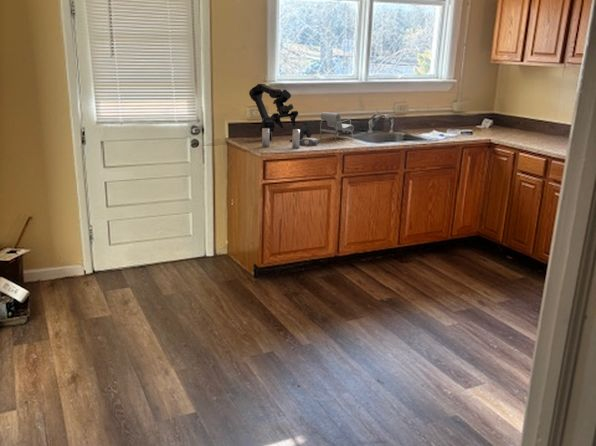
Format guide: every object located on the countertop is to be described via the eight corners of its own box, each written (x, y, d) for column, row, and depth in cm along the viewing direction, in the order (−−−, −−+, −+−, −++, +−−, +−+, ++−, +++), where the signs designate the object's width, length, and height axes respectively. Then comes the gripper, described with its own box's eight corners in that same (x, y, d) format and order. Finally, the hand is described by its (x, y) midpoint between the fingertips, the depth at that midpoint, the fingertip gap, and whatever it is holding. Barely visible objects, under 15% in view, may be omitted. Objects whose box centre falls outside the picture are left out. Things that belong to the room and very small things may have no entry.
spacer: (260, 147, 374) (261, 128, 370) (263, 146, 378) (263, 127, 375) (267, 147, 373) (268, 129, 369) (270, 146, 377) (270, 128, 374)
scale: (297, 144, 387) (297, 139, 386) (303, 141, 401) (303, 136, 400) (315, 146, 384) (315, 140, 383) (320, 143, 398) (320, 137, 397)
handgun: (311, 135, 420) (309, 121, 413) (300, 148, 410) (297, 133, 402) (309, 135, 421) (306, 120, 414) (298, 147, 411) (295, 133, 403)
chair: (319, 140, 412) (320, 112, 406) (338, 136, 431) (340, 110, 425) (334, 142, 404) (336, 114, 399) (353, 138, 424) (355, 111, 418)
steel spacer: (291, 148, 374) (291, 129, 370) (293, 147, 378) (293, 128, 375) (298, 148, 373) (298, 130, 369) (300, 147, 377) (300, 129, 374)
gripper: (272, 101, 371) (280, 122, 367) (297, 98, 380) (305, 119, 376) (266, 110, 380) (274, 131, 377) (291, 107, 389) (298, 127, 386)
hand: (288, 127), depth 379 cm, fingers open, 9 cm apart
